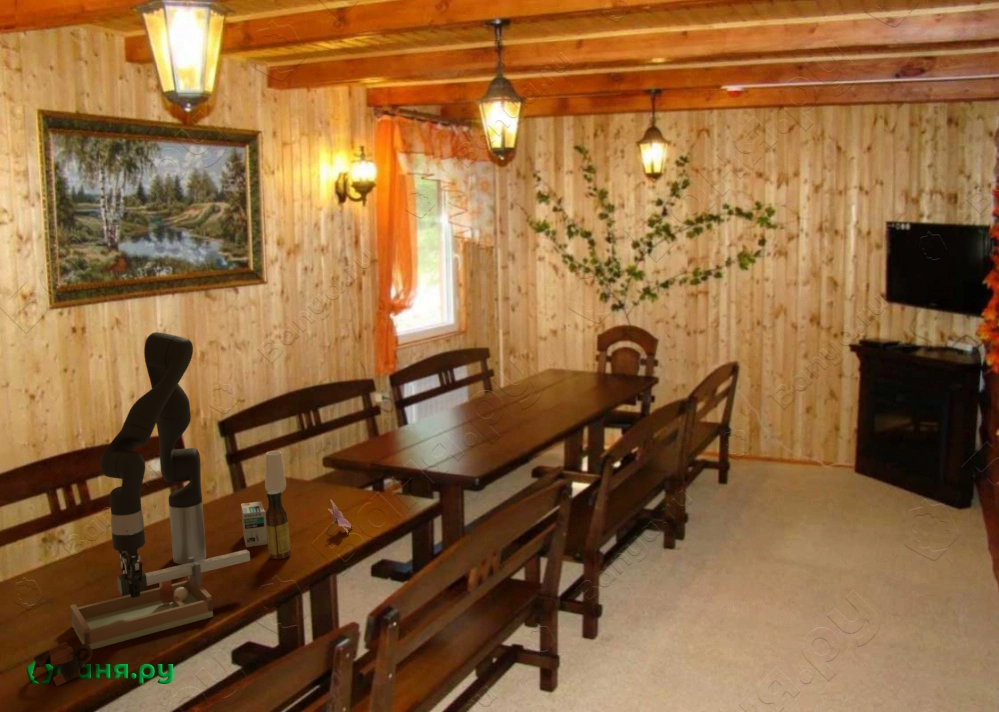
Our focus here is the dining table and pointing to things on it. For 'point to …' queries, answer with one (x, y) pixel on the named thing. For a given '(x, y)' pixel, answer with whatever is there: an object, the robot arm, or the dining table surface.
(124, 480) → the robot arm
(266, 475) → the champagne flute
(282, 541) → the sauce bottle
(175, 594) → the ball
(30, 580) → the dining table surface
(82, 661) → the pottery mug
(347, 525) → the lily
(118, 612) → the wooden tray
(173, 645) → the dining table surface
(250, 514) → the light bulb box
